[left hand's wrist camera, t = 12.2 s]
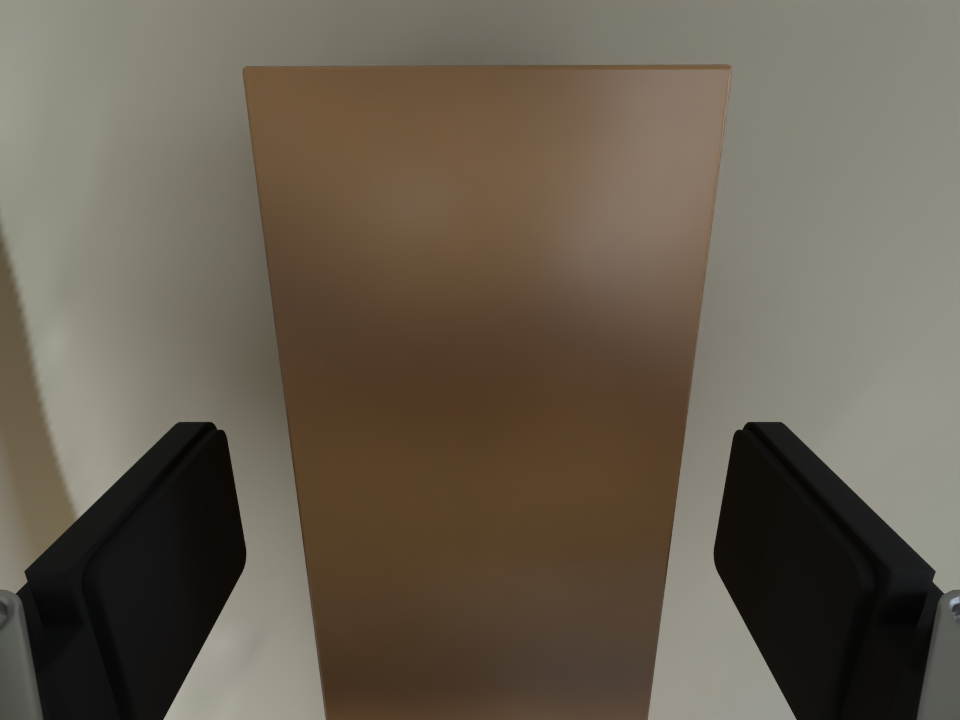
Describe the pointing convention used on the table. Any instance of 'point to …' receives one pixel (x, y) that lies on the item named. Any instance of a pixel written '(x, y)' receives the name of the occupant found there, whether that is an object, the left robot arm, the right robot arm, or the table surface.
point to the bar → (487, 370)
